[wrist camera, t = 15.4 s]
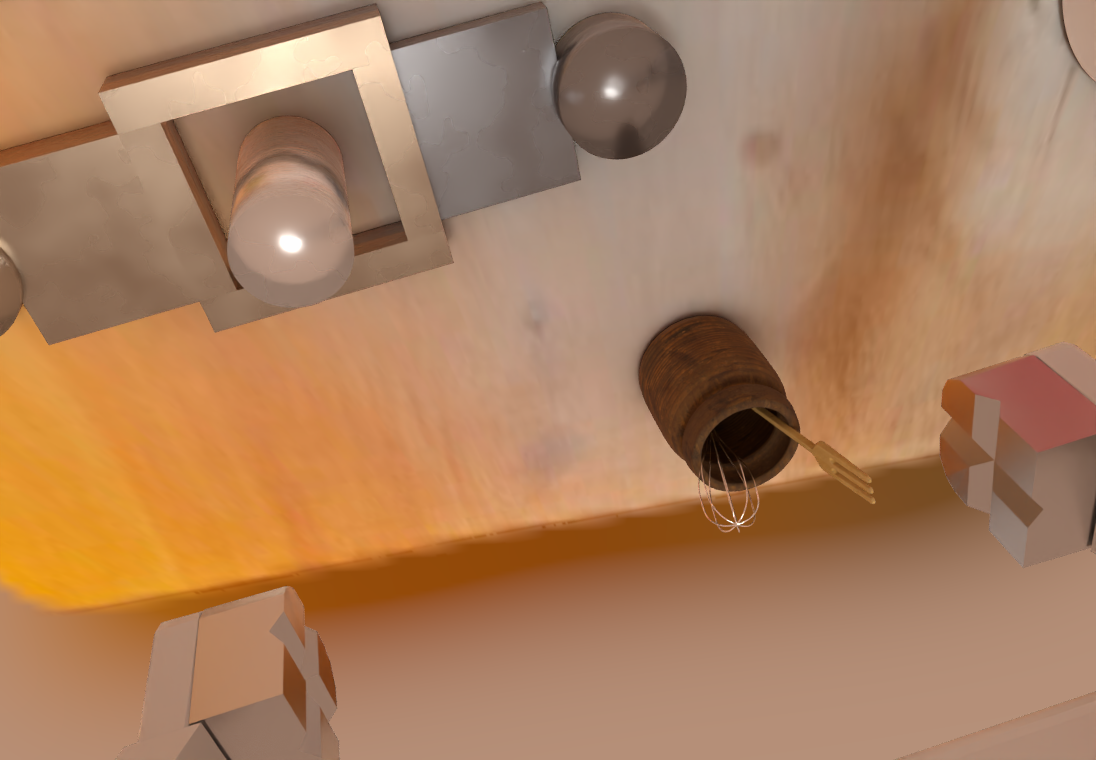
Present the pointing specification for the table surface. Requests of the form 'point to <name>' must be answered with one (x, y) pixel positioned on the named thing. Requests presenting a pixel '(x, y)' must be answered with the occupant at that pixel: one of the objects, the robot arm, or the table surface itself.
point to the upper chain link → (188, 192)
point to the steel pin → (290, 214)
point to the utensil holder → (728, 410)
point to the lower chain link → (514, 101)
